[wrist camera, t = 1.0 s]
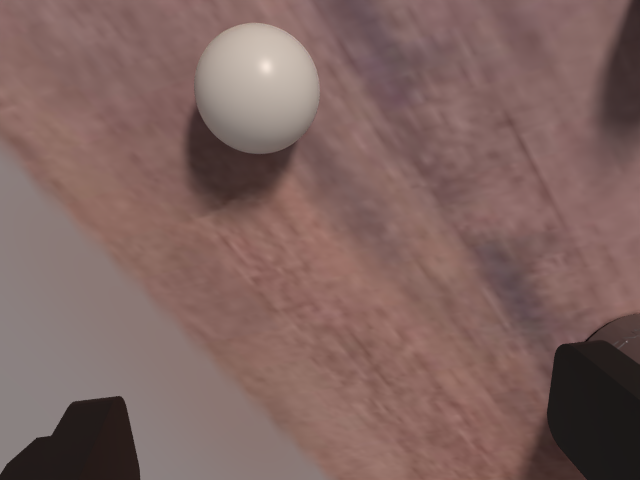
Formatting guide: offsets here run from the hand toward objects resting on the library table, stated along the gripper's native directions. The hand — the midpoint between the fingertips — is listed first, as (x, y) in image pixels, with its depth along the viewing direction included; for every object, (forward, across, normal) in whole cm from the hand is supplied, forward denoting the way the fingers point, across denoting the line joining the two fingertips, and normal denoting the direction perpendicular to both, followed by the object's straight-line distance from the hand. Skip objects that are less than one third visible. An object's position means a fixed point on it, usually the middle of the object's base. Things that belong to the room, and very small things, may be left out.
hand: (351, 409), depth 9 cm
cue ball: (+17, +1, -6) cm, 18 cm away
